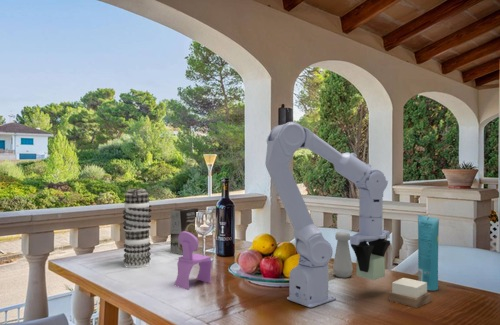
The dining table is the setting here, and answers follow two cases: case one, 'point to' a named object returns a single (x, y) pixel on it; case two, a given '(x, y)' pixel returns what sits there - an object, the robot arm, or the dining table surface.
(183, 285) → the toy chair
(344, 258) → the salt shaker
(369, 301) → the dining table surface
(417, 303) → the walnut slab
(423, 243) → the tube
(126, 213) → the decorative candle
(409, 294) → the cream slab
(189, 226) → the coffee box
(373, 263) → the sage cube
